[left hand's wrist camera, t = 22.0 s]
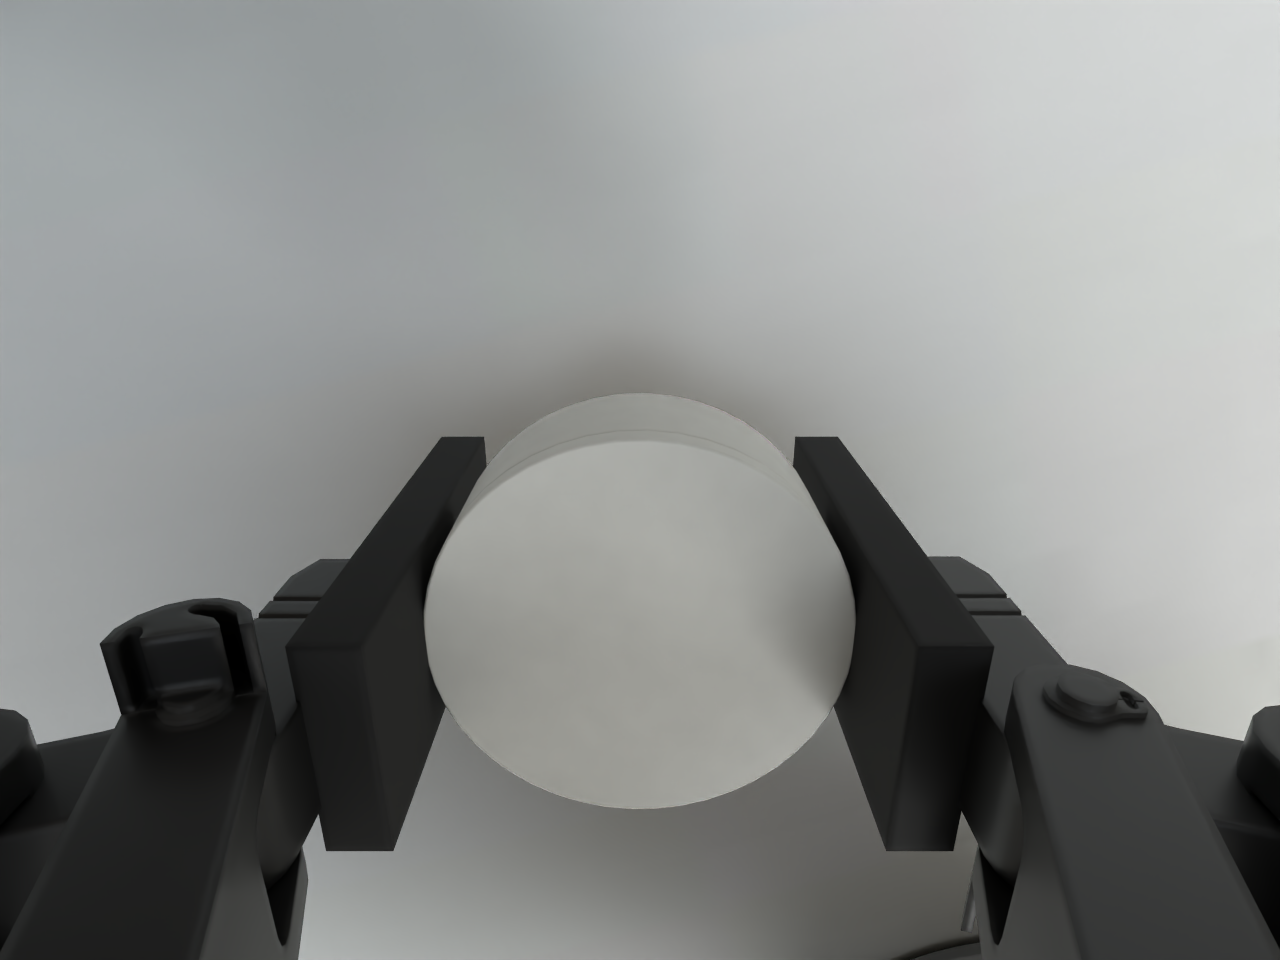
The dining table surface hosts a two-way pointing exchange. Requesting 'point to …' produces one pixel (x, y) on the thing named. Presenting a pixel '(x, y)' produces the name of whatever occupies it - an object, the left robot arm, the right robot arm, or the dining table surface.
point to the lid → (639, 605)
